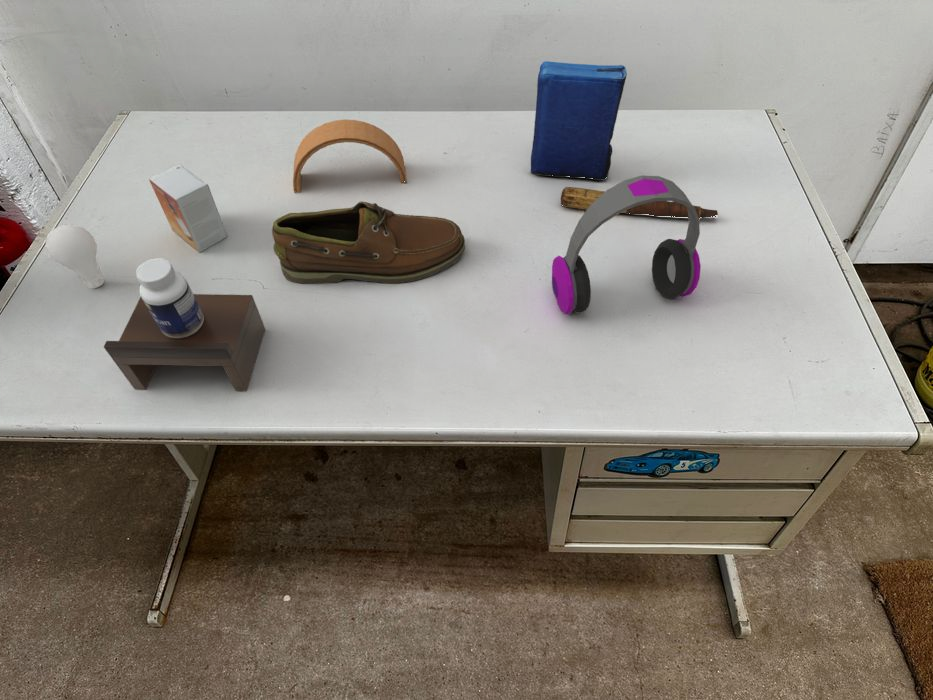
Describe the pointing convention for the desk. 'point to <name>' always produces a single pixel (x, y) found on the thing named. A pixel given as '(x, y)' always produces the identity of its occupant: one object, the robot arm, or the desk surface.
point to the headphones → (671, 258)
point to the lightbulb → (75, 252)
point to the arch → (346, 133)
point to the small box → (189, 207)
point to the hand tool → (657, 208)
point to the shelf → (193, 341)
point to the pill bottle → (169, 298)
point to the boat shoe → (364, 245)
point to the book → (576, 119)
